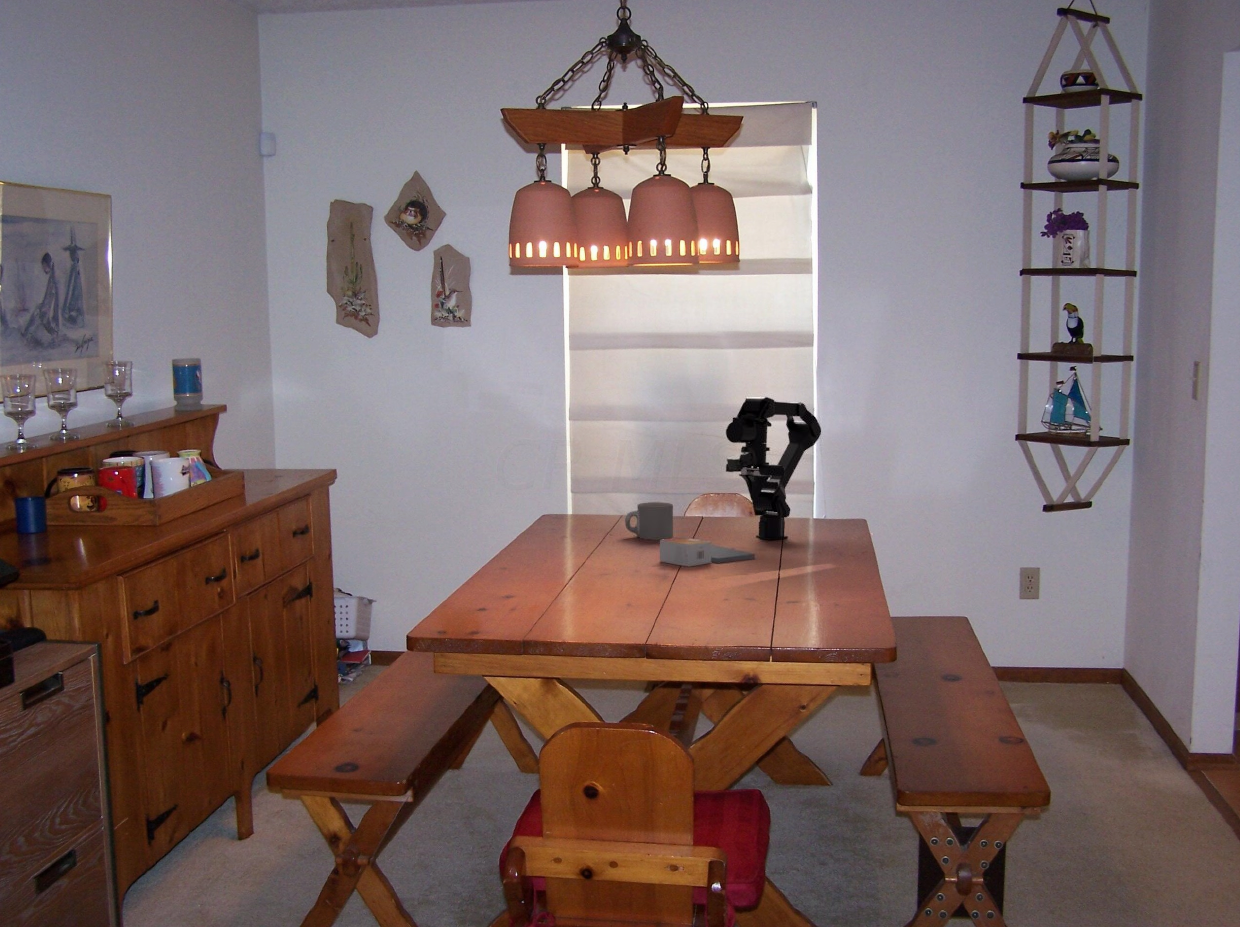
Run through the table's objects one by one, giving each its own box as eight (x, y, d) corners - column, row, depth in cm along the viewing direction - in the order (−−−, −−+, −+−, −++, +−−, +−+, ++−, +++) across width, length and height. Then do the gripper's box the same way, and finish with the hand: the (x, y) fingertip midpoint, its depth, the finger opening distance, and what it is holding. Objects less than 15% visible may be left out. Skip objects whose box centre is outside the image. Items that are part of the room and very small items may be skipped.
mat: (711, 549, 309) (711, 544, 309) (754, 558, 294) (754, 553, 294) (674, 553, 303) (674, 548, 302) (717, 563, 288) (717, 558, 287)
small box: (689, 544, 282) (658, 539, 289) (689, 567, 282) (658, 561, 290) (711, 540, 287) (681, 536, 295) (711, 563, 288) (681, 557, 295)
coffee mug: (672, 537, 331) (672, 502, 330) (673, 542, 321) (673, 506, 320) (625, 537, 331) (625, 502, 330) (624, 542, 321) (624, 506, 320)
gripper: (711, 441, 318) (709, 498, 319) (754, 444, 302) (752, 503, 303) (743, 442, 324) (741, 497, 325) (787, 444, 308) (785, 503, 309)
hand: (753, 500), depth 315 cm, fingers closed
